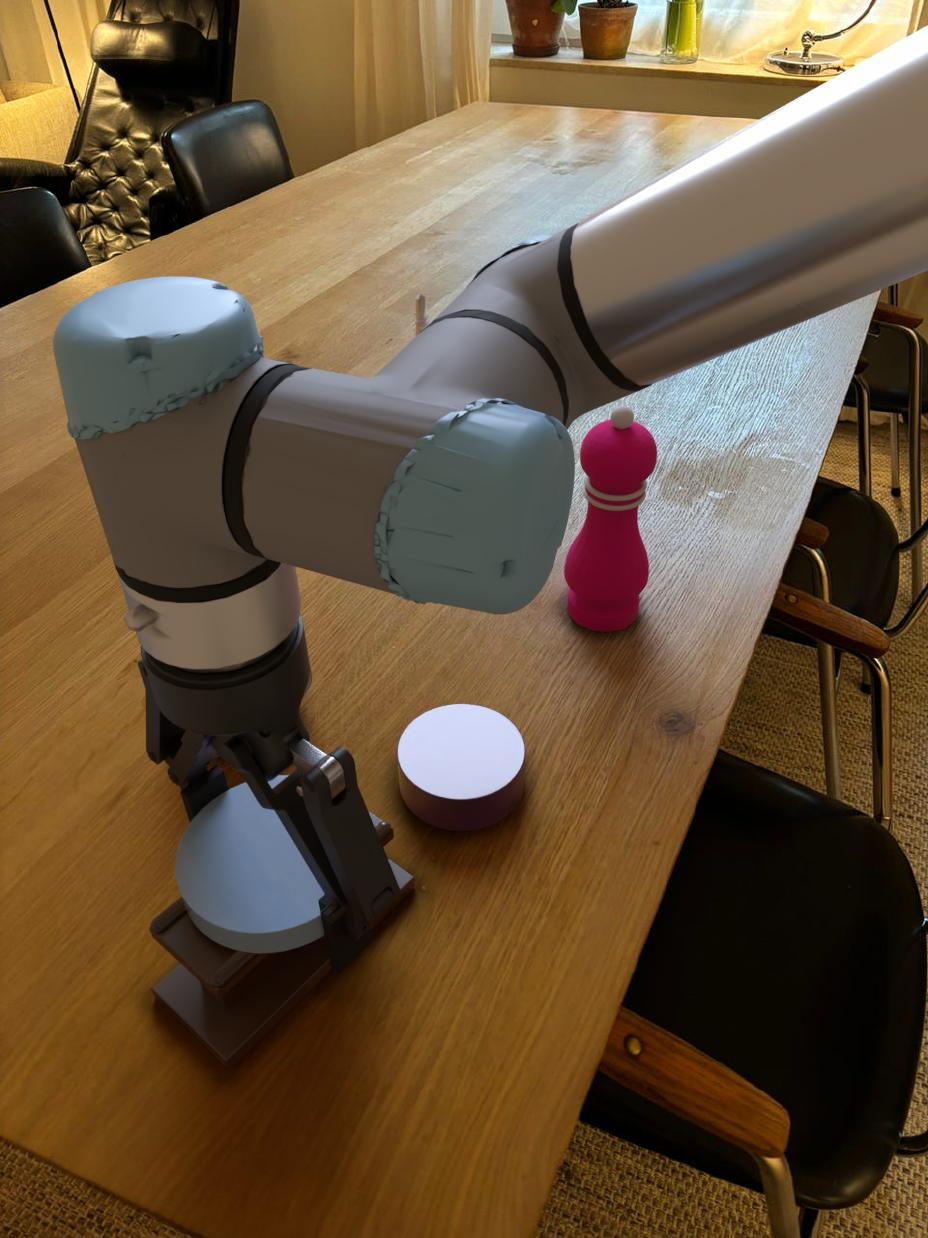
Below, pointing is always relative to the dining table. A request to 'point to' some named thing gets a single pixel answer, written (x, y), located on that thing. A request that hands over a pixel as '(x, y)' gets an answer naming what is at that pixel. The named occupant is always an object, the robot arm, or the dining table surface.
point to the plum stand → (461, 767)
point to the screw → (420, 314)
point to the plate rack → (241, 977)
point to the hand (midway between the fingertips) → (283, 898)
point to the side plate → (247, 877)
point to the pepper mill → (611, 525)
